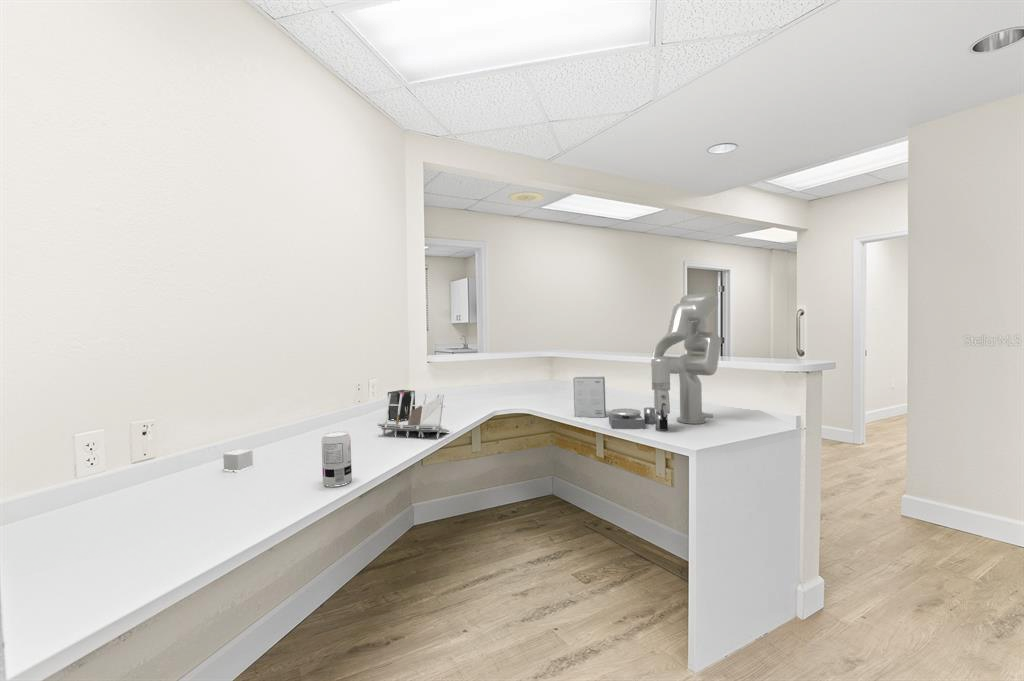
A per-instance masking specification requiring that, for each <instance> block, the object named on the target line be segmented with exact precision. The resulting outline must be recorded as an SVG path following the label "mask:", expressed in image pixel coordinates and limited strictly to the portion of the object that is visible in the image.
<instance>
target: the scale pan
mask: <svg viewBox="0 0 1024 681" xmlns="http://www.w3.org/2000/svg"><path fill="white" fill-rule="evenodd" d="M610 412H611V413H610V414H614V415H619V416H622V417H629V416H636V415H640V416H641V410H639V409H635V408H614V409H611V411H610Z"/></svg>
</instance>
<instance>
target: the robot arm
mask: <svg viewBox="0 0 1024 681" xmlns="http://www.w3.org/2000/svg"><path fill="white" fill-rule="evenodd" d="M718 306H719V298H718V296H717V295H716V294H715V293H712V292H704V293H692V294H686V295H683V296H682V297H681V298H680V303H677V304H676V305H674V307H673V309H672V312H671V317H670V321H669V326H668V330H667V332H666V334H665V335H664V336H662V338H661V339H660V340H659V341H658V342H657V343H656V345H655V346H654V349H653V352H652V355H651V360H650V366H651V367H650V368H651V390H652V391H654V392H653V395H654V396H653V406H654V407H653V408H655V414H656V413H659V414H660V419H659V420H660V429H669V427H668V426H669V424H668V422H669V420H667V414H670V413H671V408H670V407H671V406H670V405H671V404H670V394H669V391H670V390H671V374H672V375H674V374H675V375H677V374H678V376H679V416H677V418H676V422H678V423H681V424H689V425H691V424H692V425H697V424H699V425H701V424H705V423H706V419H707V418H708V419H712V418H714V414H713V413H705V412H703V407H702V406H703V403H702V400H703V399H702V398H703V396H702V392H703V391H702V382H701V380H700V378H699V377H698V376H709V377H710V376H713V375H715V373H716V372H717V370H718V369H717V368H718V365H719V357H720V351H721V339H720V335H719V334H718V333H717V332H714V331H706V330H707V329H706V328H707V320H706V318H709V316H710V315H711V314H713V312H714V311H716V310H717V308H718ZM680 342H683V347H684V349H685V351H687V352H691V353H686V354H682V355H680V356H668V355H667V356H666V355H665V353H666V351H668V349H670V348H671V347H672V346H674V345H676V344H679V343H680ZM695 353H698V354H695ZM699 353H704V354H699Z"/></svg>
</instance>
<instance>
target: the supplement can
mask: <svg viewBox="0 0 1024 681" xmlns="http://www.w3.org/2000/svg"><path fill="white" fill-rule="evenodd" d="M351 445H352V444H351V436H350V434H349V432H347V431H344V430H343V431H339V430H338V431H332V432H327V433H325V434H323V437H322V439H321V460H322V462H321V464H322V465H321V466H322V467H321V468H322V484H323V485H324V486H325V485H328V486H335V485H342V484H345V483H348V482H349V483H351V481H352V480H353V474H352V469H353V468H352V446H351ZM349 483H348V484H349Z"/></svg>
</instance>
